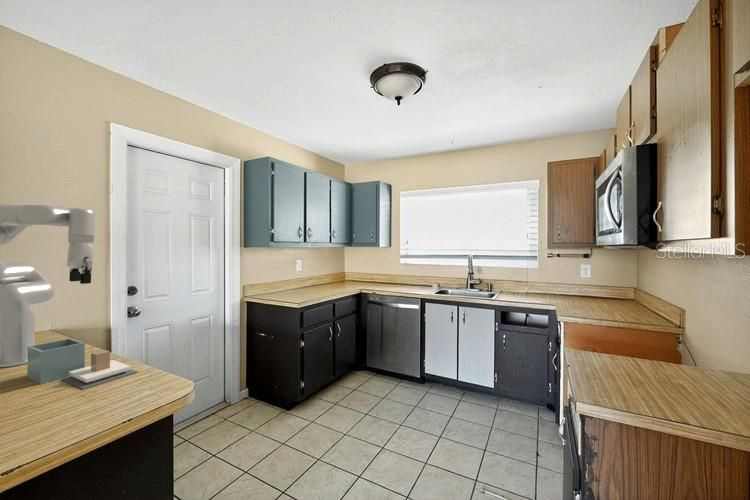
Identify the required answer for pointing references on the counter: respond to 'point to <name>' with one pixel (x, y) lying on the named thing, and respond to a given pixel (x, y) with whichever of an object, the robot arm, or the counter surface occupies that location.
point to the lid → (99, 368)
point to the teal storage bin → (55, 359)
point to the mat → (85, 385)
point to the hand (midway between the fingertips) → (80, 282)
